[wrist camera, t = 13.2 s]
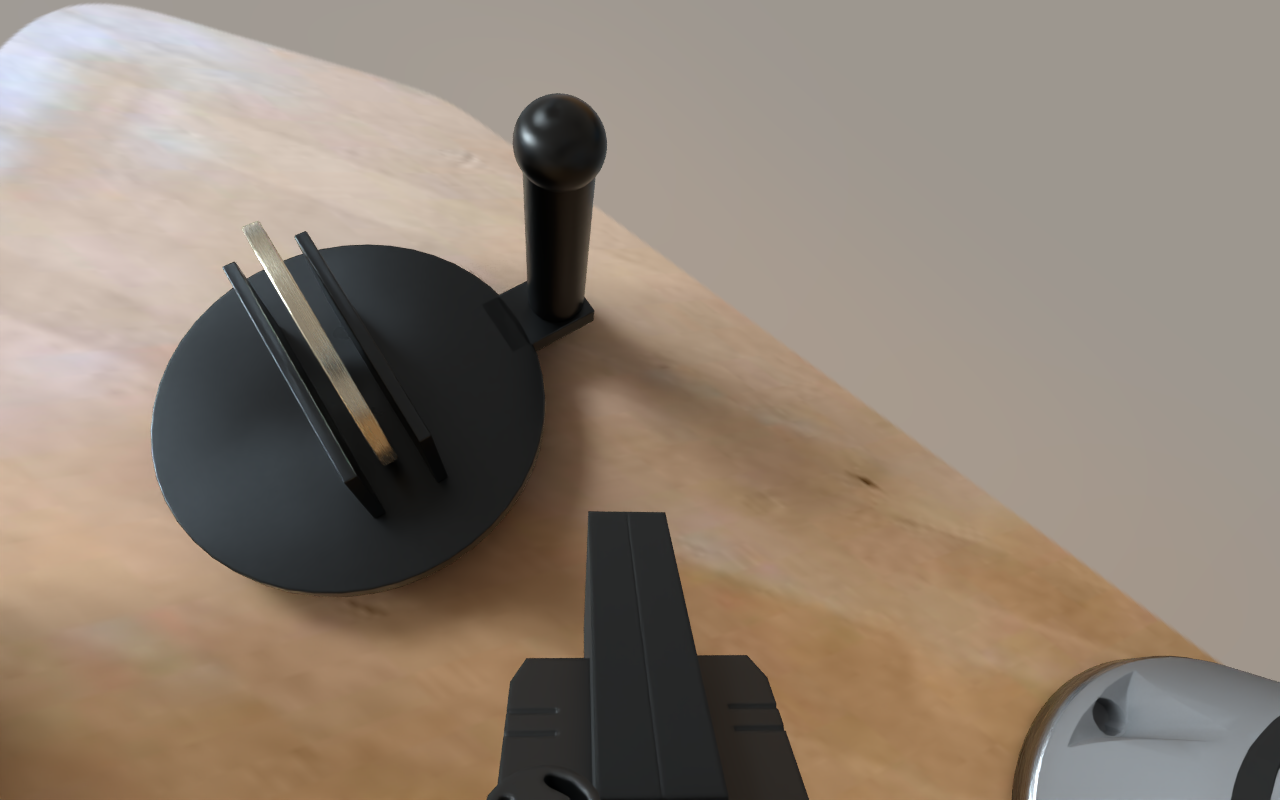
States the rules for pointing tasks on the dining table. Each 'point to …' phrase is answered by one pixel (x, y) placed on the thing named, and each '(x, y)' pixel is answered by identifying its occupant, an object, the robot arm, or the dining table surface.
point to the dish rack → (376, 390)
